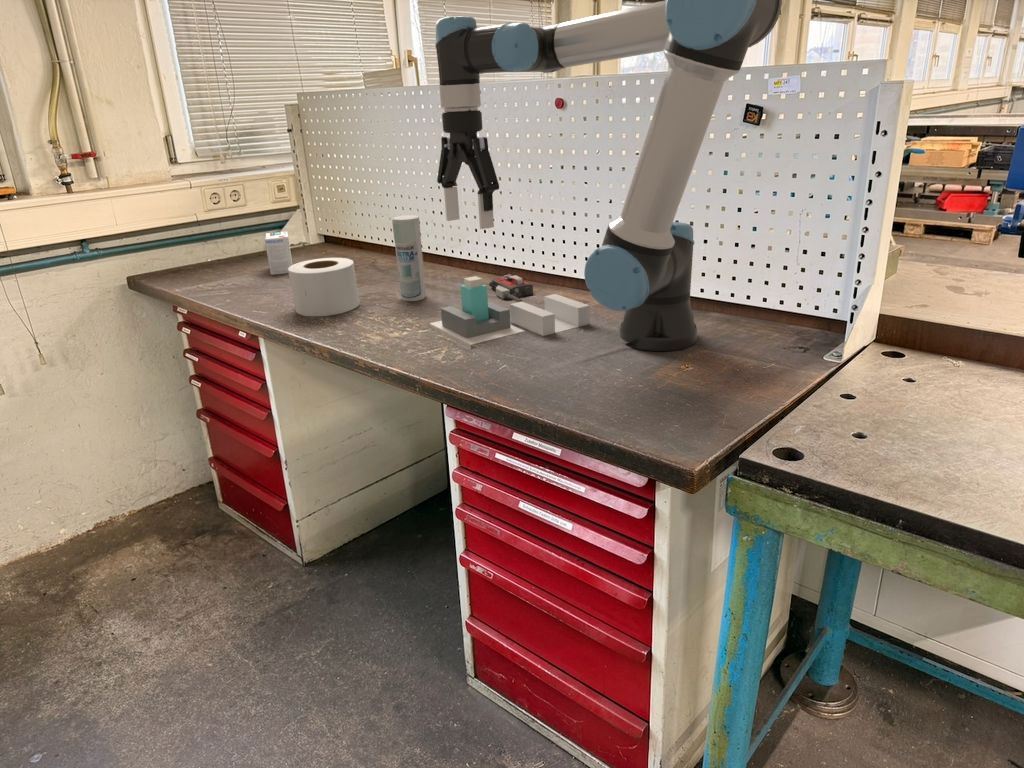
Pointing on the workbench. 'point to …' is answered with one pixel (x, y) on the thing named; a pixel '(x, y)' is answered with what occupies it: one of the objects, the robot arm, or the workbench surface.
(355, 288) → the roll of tape
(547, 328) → the offset white blocks
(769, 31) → the robot arm
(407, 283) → the spray can
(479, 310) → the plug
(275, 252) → the light bulb box
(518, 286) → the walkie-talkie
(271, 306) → the workbench surface
